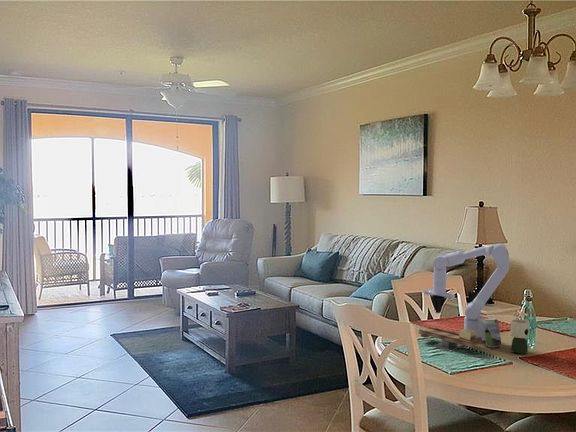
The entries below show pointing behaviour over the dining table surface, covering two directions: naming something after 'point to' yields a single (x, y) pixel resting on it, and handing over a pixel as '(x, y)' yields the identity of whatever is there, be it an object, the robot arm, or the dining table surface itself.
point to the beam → (448, 336)
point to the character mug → (520, 335)
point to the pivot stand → (447, 345)
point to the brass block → (467, 334)
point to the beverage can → (492, 332)
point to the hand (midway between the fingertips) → (438, 312)
